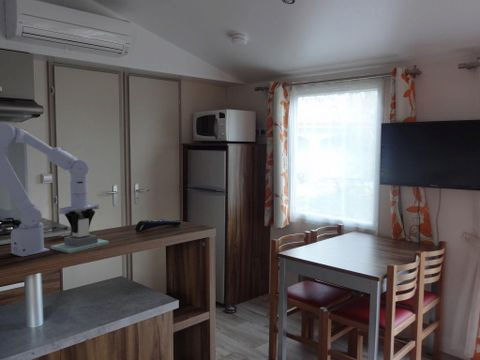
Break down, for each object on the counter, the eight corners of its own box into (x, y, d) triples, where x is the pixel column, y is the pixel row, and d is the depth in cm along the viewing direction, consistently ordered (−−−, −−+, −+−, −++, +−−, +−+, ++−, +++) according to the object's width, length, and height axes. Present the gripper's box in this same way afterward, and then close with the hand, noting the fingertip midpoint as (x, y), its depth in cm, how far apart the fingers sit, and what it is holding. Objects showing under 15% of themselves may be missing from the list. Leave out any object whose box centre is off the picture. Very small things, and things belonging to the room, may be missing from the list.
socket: (69, 253, 136) (68, 242, 135) (50, 248, 142) (50, 238, 141) (108, 243, 149) (108, 234, 148) (90, 239, 155) (90, 230, 155)
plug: (79, 237, 142) (78, 216, 141) (72, 235, 144) (71, 215, 143) (89, 235, 145) (88, 214, 144) (82, 233, 147) (81, 213, 147)
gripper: (67, 196, 135) (68, 236, 136) (103, 192, 147) (104, 229, 148) (55, 195, 139) (56, 234, 140) (91, 191, 151) (93, 227, 152)
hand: (80, 231), depth 144 cm, fingers closed on plug, 4 cm apart
